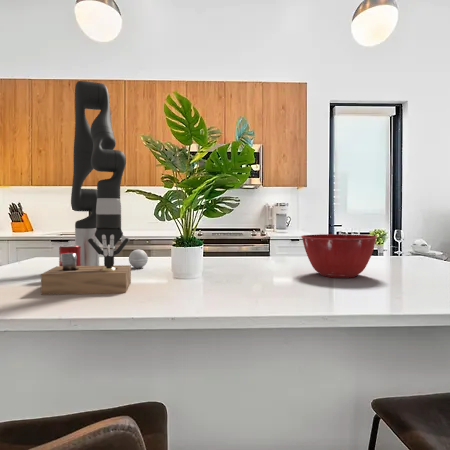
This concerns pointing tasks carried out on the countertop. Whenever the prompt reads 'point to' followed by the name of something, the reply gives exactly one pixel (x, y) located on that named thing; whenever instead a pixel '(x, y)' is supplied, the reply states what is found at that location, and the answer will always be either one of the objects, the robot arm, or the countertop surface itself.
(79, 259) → the soda can
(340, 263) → the mixing bowl
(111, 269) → the brass peg
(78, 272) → the socket block
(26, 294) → the countertop surface
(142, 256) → the bath bomb
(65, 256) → the graphite peg
